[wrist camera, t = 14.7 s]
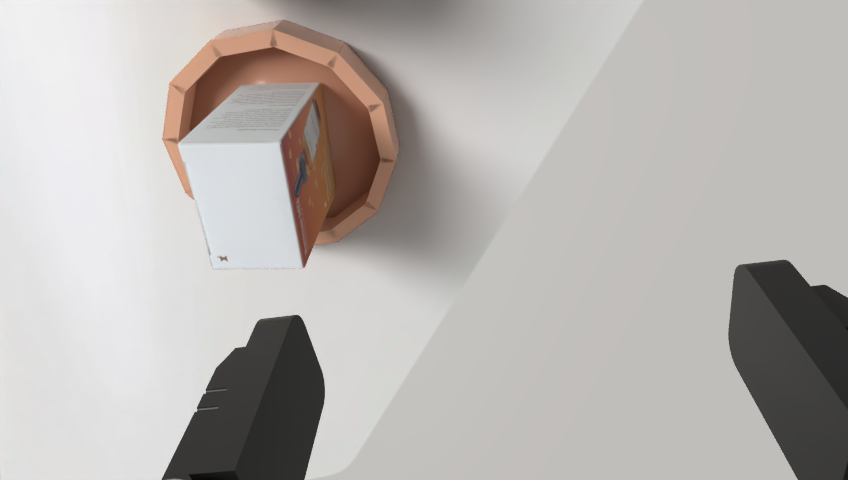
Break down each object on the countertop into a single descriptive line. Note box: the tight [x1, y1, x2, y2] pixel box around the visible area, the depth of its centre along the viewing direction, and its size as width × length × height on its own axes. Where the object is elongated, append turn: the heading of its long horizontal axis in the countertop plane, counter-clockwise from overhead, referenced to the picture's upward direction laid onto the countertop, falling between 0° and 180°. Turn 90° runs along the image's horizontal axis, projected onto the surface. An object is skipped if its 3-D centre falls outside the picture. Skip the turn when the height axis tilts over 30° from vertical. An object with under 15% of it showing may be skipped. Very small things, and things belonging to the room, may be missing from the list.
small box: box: [178, 83, 337, 269], centre depth 37 cm, size 8×6×10 cm
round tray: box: [162, 20, 400, 245], centre depth 41 cm, size 15×15×3 cm
